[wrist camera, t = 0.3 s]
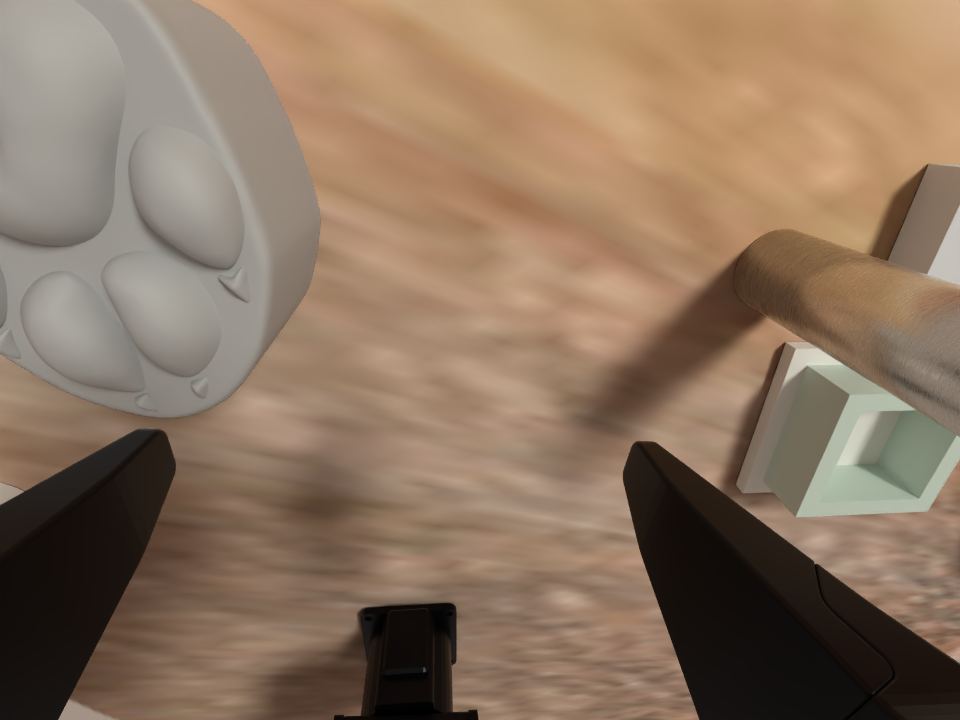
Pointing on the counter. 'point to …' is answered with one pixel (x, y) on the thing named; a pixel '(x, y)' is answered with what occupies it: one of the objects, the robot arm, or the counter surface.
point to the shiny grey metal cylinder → (862, 315)
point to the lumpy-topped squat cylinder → (145, 203)
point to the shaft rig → (860, 402)
